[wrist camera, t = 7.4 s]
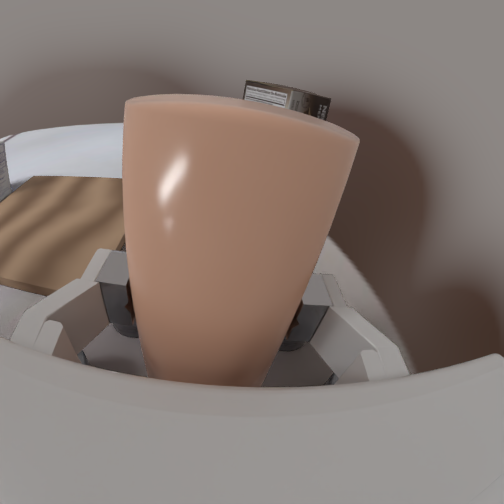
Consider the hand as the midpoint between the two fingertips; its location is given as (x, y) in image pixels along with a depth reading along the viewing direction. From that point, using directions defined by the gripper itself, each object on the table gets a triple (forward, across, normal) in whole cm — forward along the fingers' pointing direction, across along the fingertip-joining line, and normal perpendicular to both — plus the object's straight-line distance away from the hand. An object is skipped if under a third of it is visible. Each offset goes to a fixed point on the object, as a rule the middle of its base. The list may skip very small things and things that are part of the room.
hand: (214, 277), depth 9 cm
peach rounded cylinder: (-1, 0, +8) cm, 8 cm away
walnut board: (+17, +20, +10) cm, 28 cm away
